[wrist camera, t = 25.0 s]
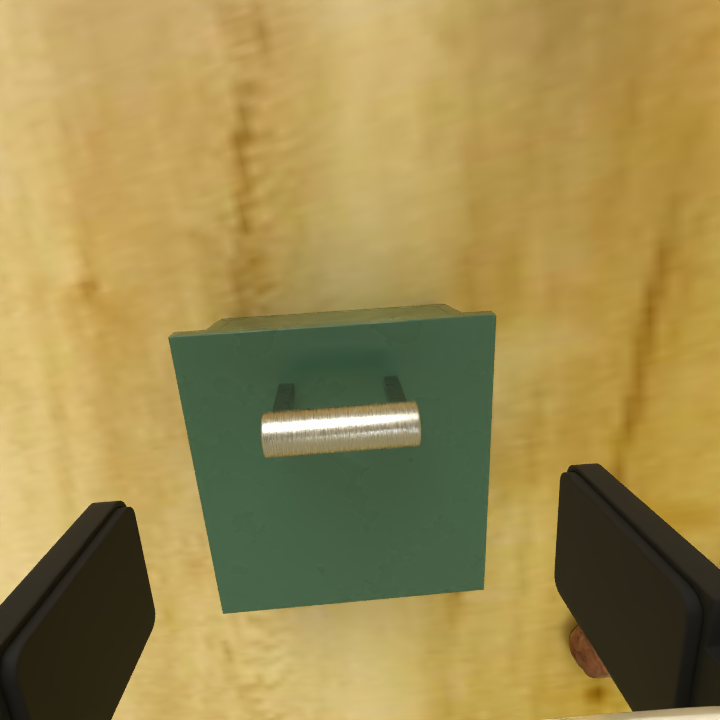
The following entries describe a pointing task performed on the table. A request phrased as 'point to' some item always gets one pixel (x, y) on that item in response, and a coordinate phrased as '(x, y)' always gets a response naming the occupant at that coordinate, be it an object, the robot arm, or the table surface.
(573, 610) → the robot arm
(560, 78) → the table surface
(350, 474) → the warmer lid
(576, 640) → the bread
